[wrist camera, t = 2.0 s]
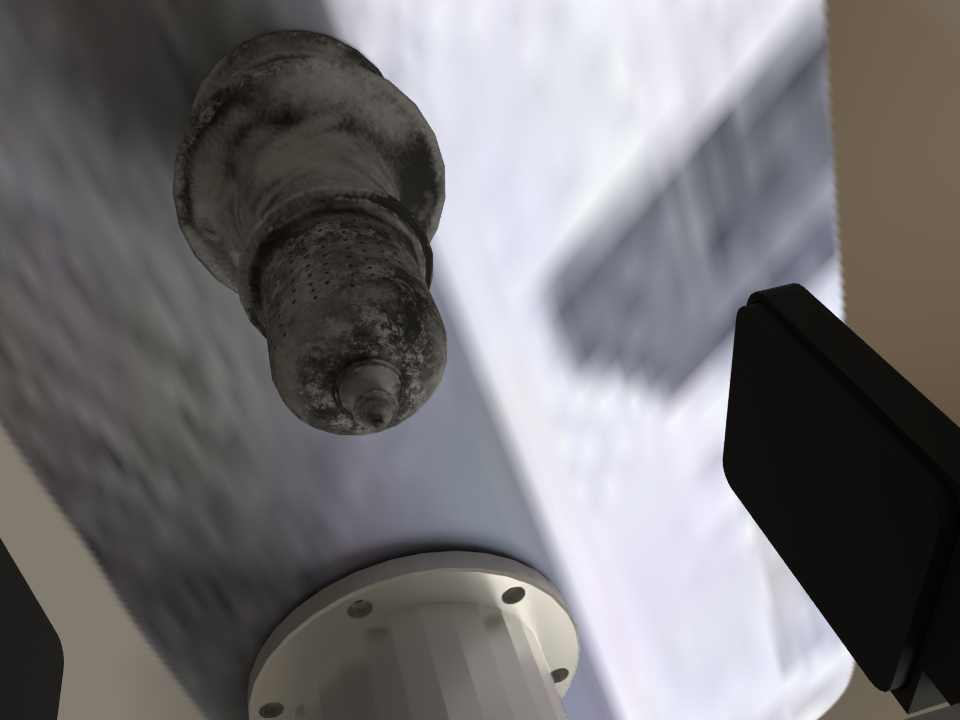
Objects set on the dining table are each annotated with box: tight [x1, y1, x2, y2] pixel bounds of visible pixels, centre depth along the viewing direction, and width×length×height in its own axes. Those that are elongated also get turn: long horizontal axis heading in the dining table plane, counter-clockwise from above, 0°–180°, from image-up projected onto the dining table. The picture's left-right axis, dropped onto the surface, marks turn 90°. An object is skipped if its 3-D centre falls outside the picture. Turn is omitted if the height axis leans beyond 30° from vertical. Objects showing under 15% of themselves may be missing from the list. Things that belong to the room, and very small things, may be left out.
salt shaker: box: [173, 31, 447, 436], centre depth 18 cm, size 6×6×12 cm
